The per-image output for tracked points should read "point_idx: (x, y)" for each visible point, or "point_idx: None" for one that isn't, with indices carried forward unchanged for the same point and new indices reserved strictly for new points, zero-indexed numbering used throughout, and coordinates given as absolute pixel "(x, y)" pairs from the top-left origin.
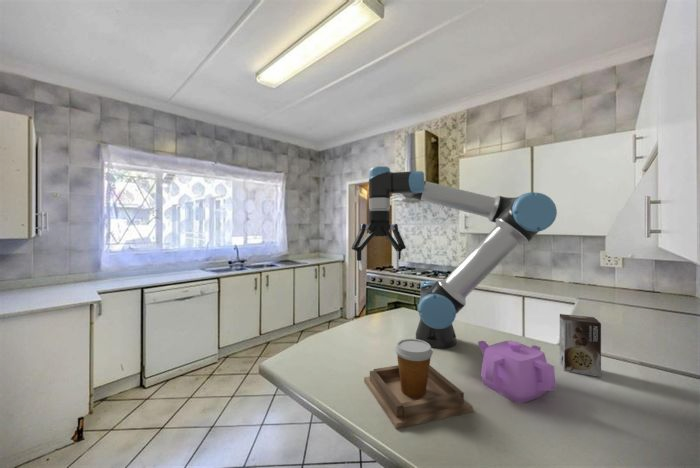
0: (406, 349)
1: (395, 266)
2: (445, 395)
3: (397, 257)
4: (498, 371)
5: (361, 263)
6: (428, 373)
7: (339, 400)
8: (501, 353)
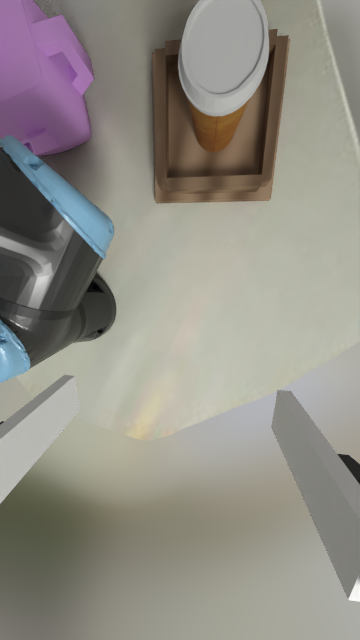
0: (252, 30)
1: (69, 396)
2: None
3: (9, 426)
4: (62, 65)
5: (314, 426)
6: (167, 161)
7: (331, 154)
8: (26, 35)
